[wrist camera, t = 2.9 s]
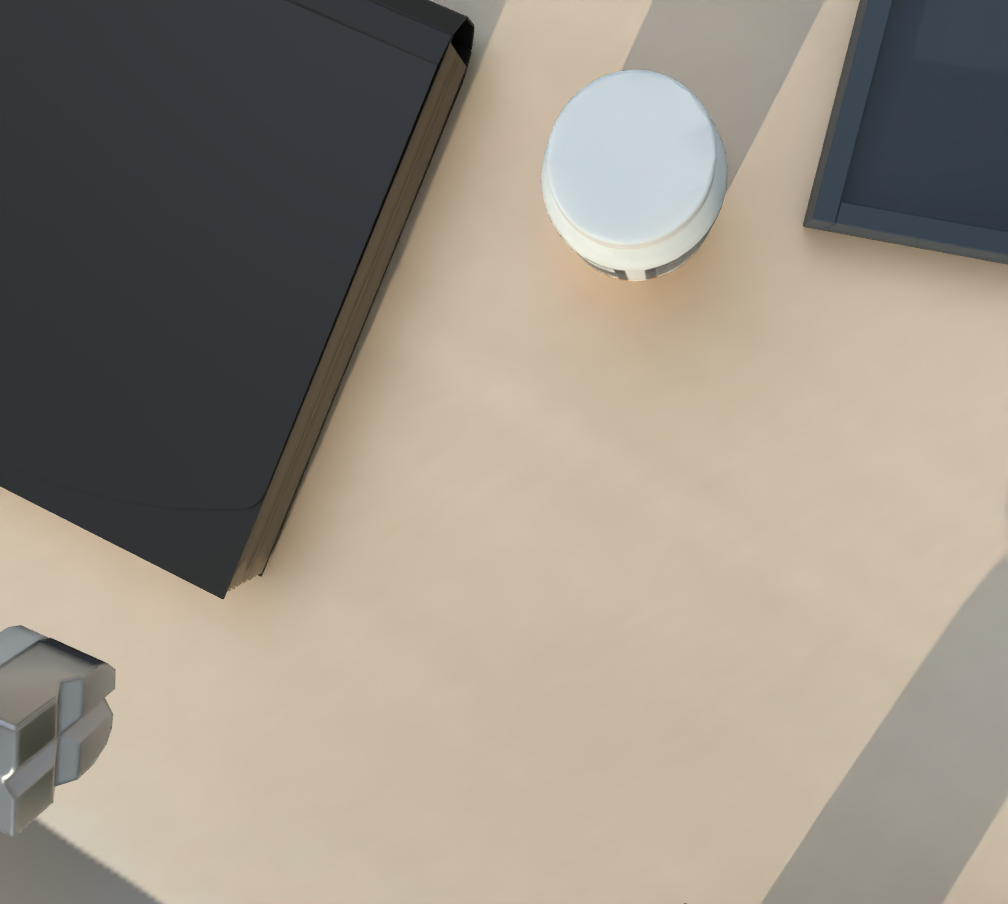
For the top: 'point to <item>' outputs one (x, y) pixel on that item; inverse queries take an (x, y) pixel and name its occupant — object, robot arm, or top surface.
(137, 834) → the top surface
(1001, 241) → the tray
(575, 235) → the pill bottle
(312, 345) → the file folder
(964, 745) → the top surface
